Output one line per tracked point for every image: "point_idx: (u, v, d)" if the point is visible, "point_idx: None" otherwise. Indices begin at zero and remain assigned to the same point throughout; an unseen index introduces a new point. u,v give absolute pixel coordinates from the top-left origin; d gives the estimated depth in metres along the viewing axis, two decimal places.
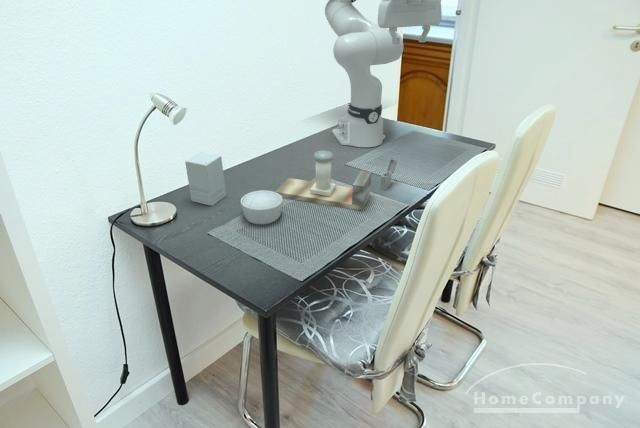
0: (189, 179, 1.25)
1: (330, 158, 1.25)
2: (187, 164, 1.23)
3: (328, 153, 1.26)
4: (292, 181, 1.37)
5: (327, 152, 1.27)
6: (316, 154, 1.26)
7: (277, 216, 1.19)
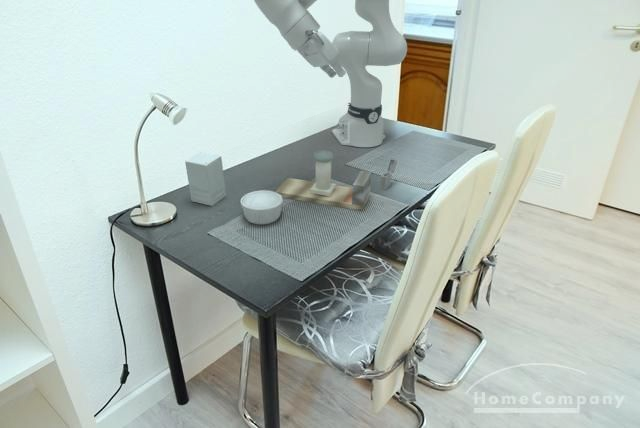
0: (189, 179, 1.25)
1: (330, 158, 1.25)
2: (187, 164, 1.23)
3: (328, 153, 1.26)
4: (292, 181, 1.37)
5: (327, 152, 1.27)
6: (316, 154, 1.26)
7: (277, 216, 1.19)
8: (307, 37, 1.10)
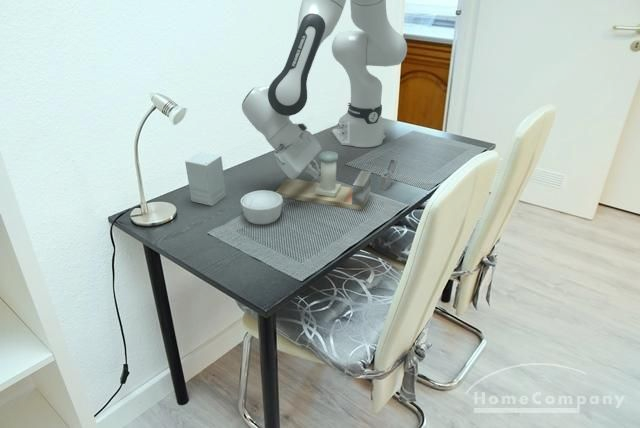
0: (189, 179, 1.25)
1: (335, 159, 1.25)
2: (187, 164, 1.23)
3: (333, 154, 1.26)
4: (292, 181, 1.37)
5: (333, 153, 1.27)
6: (321, 155, 1.25)
7: (277, 216, 1.19)
8: None
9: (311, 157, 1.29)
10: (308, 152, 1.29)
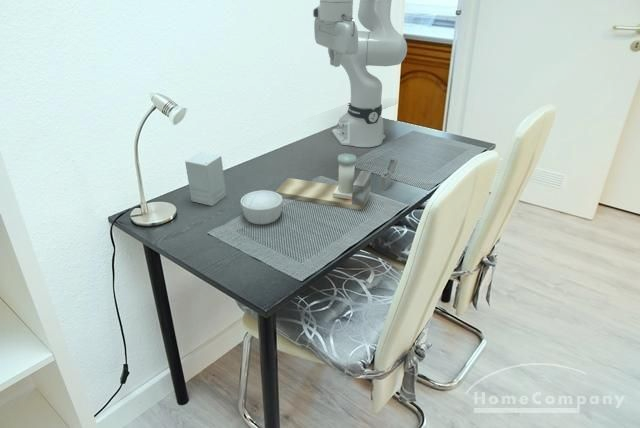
0: (189, 179, 1.25)
1: (354, 161, 1.23)
2: (187, 164, 1.23)
3: (352, 156, 1.25)
4: (292, 181, 1.37)
5: (351, 155, 1.25)
6: (340, 157, 1.24)
7: (277, 216, 1.19)
8: (340, 19, 1.18)
9: None
10: None
